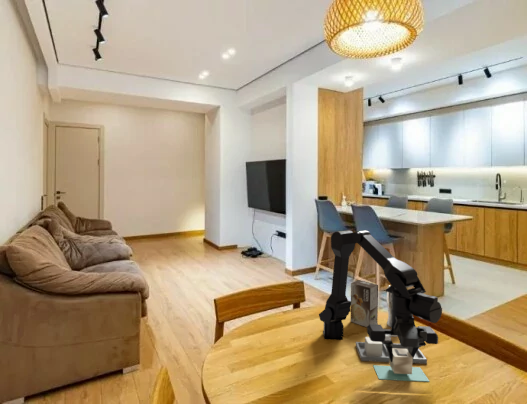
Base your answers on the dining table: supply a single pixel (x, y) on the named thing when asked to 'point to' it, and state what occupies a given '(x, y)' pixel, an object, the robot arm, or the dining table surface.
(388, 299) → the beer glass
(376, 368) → the teal mat
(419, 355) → the tray
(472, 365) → the dining table surface
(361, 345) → the tray
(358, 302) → the coffee box
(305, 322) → the dining table surface
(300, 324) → the dining table surface
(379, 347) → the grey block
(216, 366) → the dining table surface
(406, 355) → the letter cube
